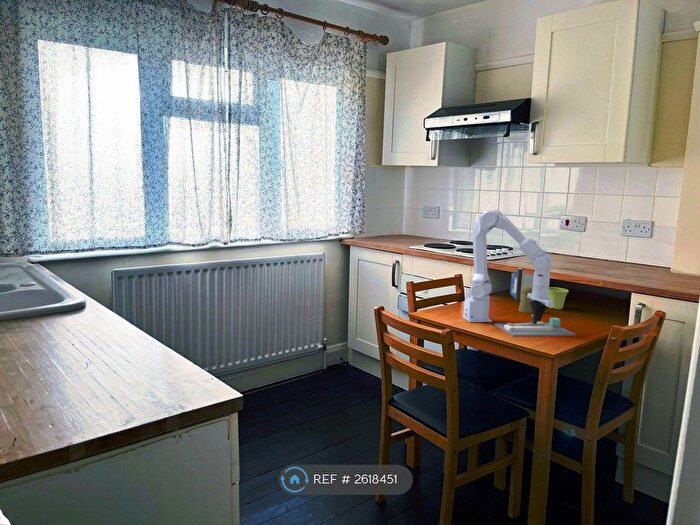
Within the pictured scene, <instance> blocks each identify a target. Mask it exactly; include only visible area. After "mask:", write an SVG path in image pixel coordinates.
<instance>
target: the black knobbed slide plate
mask: <svg viewBox="0 0 700 525" xmlns="http://www.w3.org/2000/svg"><path fill="white" fill-rule="evenodd" d="M530 316H531V317H530V322H518V323H516V324H513V323H512V324H513V326H544V324H545V323H546V322H543V321H535V320H534V314H533V313H532V314H530Z"/></svg>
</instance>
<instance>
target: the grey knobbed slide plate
mask: <svg viewBox="0 0 700 525" xmlns="http://www.w3.org/2000/svg"><path fill="white" fill-rule="evenodd" d="M544 323H545V324H544V326H513V324H516V323H515V322H514V323H511V322H507V323H494V326H496V327H497V328H499V329H500V330H501V331H504V332H505V333H506V334H508V335H510V336H512V337H562V336H563V337H566V336H567V337H570V336H571V337H573V336H577V334H576V333H574V332H572V331H570V330H568V329H566V328H564V327H563V326H560V327H552V326H550V325H549V322H544Z"/></svg>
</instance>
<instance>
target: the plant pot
mask: <svg viewBox="0 0 700 525" xmlns="http://www.w3.org/2000/svg"><path fill="white" fill-rule="evenodd" d="M568 293H569V290H568V289H566V288H561V287H553V286H552V287H551V286H549V291H548V297H550V300H551V301H552V302H553V303H552V307H548V308H550V309H554V310H562V309H564V308H563V307H564V304H565V300H566V296H567V294H568Z"/></svg>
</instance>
